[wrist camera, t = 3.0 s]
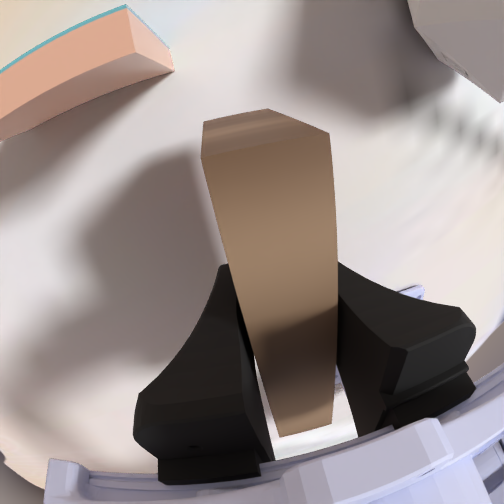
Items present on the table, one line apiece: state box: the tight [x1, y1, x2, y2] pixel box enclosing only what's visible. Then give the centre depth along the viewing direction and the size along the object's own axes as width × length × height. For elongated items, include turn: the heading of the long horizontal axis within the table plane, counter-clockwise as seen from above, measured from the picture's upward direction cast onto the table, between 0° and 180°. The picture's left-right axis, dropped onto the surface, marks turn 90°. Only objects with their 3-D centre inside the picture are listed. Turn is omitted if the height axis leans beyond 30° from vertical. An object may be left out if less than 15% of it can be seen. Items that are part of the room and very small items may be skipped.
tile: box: [0, 4, 175, 142], centre depth 8 cm, size 1×8×8 cm, turn 101°
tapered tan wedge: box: [201, 109, 338, 437], centre depth 11 cm, size 12×2×6 cm, turn 10°
